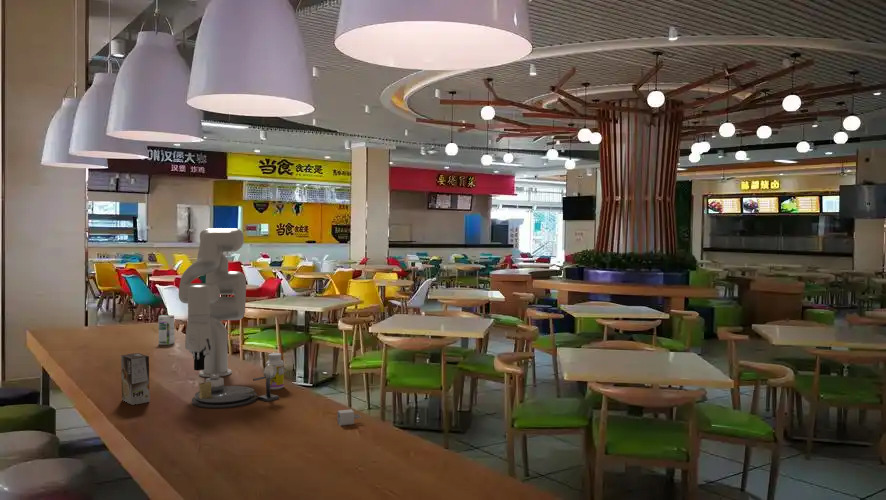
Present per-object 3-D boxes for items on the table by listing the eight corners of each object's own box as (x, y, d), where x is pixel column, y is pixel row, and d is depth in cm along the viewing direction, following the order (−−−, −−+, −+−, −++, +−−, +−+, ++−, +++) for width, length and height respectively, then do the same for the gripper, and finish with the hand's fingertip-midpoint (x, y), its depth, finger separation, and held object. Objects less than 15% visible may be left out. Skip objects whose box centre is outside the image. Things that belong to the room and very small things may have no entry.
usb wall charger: (337, 422, 215) (337, 410, 214) (358, 420, 217) (358, 408, 217) (340, 426, 211) (340, 413, 211) (362, 424, 213) (362, 411, 213)
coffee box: (150, 402, 238) (150, 356, 237) (131, 405, 233) (131, 358, 232) (139, 397, 244) (138, 352, 243) (120, 400, 239) (120, 354, 238)
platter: (183, 397, 238) (182, 379, 238) (231, 386, 255) (231, 369, 254) (218, 407, 227) (217, 388, 226) (266, 394, 243) (266, 377, 242)
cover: (202, 390, 243) (202, 375, 243) (216, 387, 248) (216, 372, 248) (212, 393, 240) (212, 377, 240) (227, 389, 245) (227, 374, 244)
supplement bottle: (261, 388, 257) (261, 354, 256) (274, 384, 263) (273, 351, 262) (275, 390, 254) (275, 356, 253) (287, 387, 260) (287, 353, 259)
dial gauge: (249, 401, 239) (249, 366, 238) (269, 396, 246) (269, 361, 245) (258, 403, 236) (258, 367, 235) (278, 398, 243) (278, 363, 242)
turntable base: (178, 401, 238) (178, 398, 238) (232, 389, 256) (232, 386, 256) (217, 412, 225) (217, 409, 225) (270, 398, 243) (270, 395, 243)
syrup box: (158, 344, 345) (157, 316, 345) (164, 342, 351) (164, 314, 350) (168, 345, 344) (168, 316, 344) (175, 343, 350) (174, 314, 349)
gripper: (177, 318, 250) (178, 369, 250) (202, 321, 241) (202, 373, 241) (196, 317, 256) (196, 366, 256) (220, 319, 247) (220, 370, 247)
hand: (199, 369), depth 248 cm, fingers closed
